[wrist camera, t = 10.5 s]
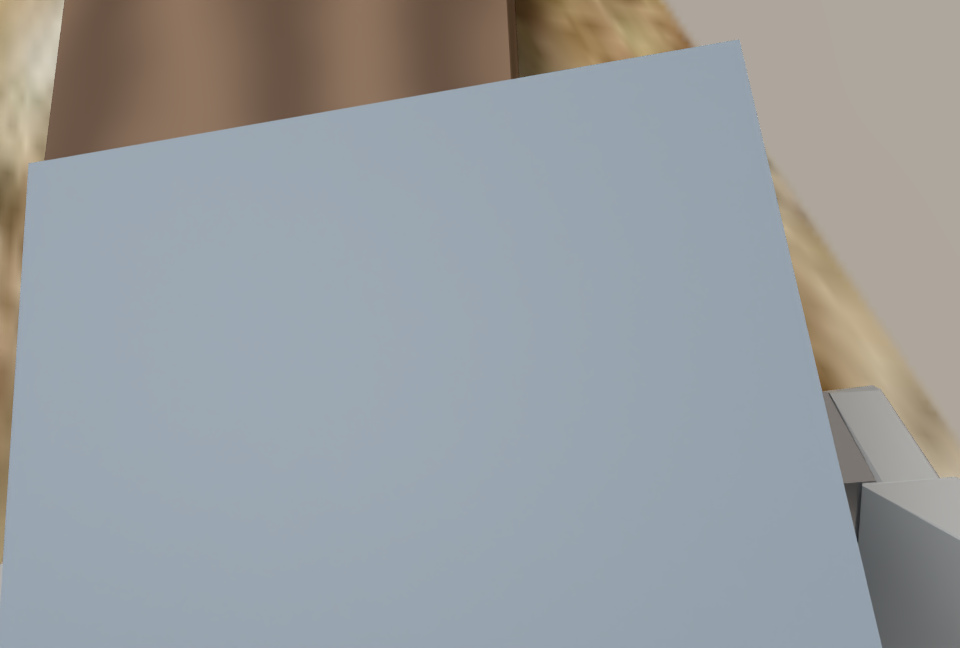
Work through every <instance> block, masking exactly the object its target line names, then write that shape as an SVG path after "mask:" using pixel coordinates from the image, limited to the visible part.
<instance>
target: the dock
mask: <svg viewBox="0 0 960 648" xmlns="http://www.w3.org/2000/svg"><path fill="white" fill-rule="evenodd" d="M516 78H519V65H518V48H517V31H516V14H515V0H65V1H64V9H63V17H62V25H61V32H60V40H59V48H58V56H57V64H56V72H55V80H54V88H53V96H52V104H51V112H50V120H49V128H48V136H47V144H46V152H45V159H44V161H46V160H52V159H58V158H63V157H69V156H75V155H81V154H86V153H92V152H98V151H104V150H109V149H115V148H121V147H126V146H132V145H138V144H144V143H149V142H155V141H161V140H167V139H172V138H178V137H184V136H189V135H195V134H201V133H207V132H212V131H218V130H224V129H229V128H235V127H241V126H247V125H252V124H258V123H264V122H270V121H275V120H281V119H287V118H292V117H298V116H304V115H310V114H315V113H321V112H327V111H333V110H338V109H344V108H350V107H355V106H361V105H367V104H373V103H378V102H384V101H390V100H395V99H401V98H407V97H413V96H418V95H424V94H430V93H436V92H441V91H447V90H453V89H458V88H464V87H470V86H476V85H481V84H487V83H493V82H499V81H504V80H510V79H516Z"/></svg>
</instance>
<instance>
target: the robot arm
mask: <svg viewBox="0 0 960 648" xmlns="http://www.w3.org/2000/svg"><path fill="white" fill-rule="evenodd" d="M822 394H823V398H824V402H825V406H826V411H827V415H828V419H829V423H830V428H831V432H832V436H833V440H834V445H835V449H836V453H837V457H838V462H839V466H840V470H841V474H842V479H843V483H844V487H845V492H846V496H847V500H848V504H849V509H850V513H851V517H852V521H853V526H854V530H855V534H856V538H857V543H858V547H859V551H860V555H861V560H862V564H863V568H864V572H865V577H866V581H867V585H868V589H869V594H870V598H871V602H872V606H873V611H874V615H875V619H876V623H877V628H878V632H879V636H880V640H881V645H882V648H960V479H959V478H957V477H947V478H940V477H939V476H938V474H937V473H936V471H935V470H934V468H933V467H932V465H931V464H930V462H929V461H928V459H927V458H926V456H925V455H924V453H923V452H922V450H921V449H920V447H919V446H918V444H917V443H916V441H915V440H914V438H913V437H912V435H911V434H910V433H909V431H908V430H907V428H906V427H905V425H904V424H903V422H902V421H901V419H900V418H899V416H898V415H897V413H896V412H895V410H894V409H893V407H892V406H891V404H890V403H889V401H888V400H887V398H886V397H885V395H884V394H883V392H882V391H881V389H879V388H877V387H875V386H873V385H872V386H864V387H856V388H847V389H839V390H831V391H824V392H822ZM2 569H3V563H2V564H0V599H1V584H2Z"/></svg>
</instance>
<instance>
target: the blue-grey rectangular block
mask: <svg viewBox="0 0 960 648" xmlns="http://www.w3.org/2000/svg"><path fill="white" fill-rule="evenodd" d="M0 648H882V645H881V640H880V636H879V632H878V628H877V623H876V619H875V615H874V611H873V606H872V602H871V598H870V594H869V589H868V585H867V581H866V577H865V572H864V568H863V564H862V560H861V555H860V551H859V547H858V543H857V538H856V534H855V530H854V526H853V521H852V517H851V513H850V509H849V504H848V500H847V496H846V492H845V487H844V483H843V479H842V474H841V470H840V466H839V462H838V457H837V453H836V449H835V445H834V440H833V436H832V432H831V428H830V423H829V419H828V415H827V411H826V406H825V402H824V398H823V394H822V389H821V385H820V381H819V377H818V372H817V368H816V364H815V360H814V355H813V351H812V347H811V343H810V338H809V334H808V330H807V326H806V321H805V317H804V313H803V309H802V304H801V300H800V296H799V292H798V287H797V283H796V279H795V275H794V270H793V266H792V262H791V258H790V253H789V249H788V245H787V241H786V236H785V232H784V228H783V224H782V219H781V215H780V211H779V207H778V202H777V198H776V194H775V190H774V185H773V181H772V177H771V173H770V168H769V164H768V160H767V156H766V151H765V147H764V143H763V139H762V134H761V130H760V126H759V122H758V117H757V113H756V109H755V105H754V100H753V96H752V92H751V88H750V83H749V79H748V75H747V71H746V67H745V62H744V58H743V54H742V49H741V45H740V41H739V40H734V41H727V42H722V43H716V44H710V45H705V46H699V47H693V48H687V49H682V50H676V51H670V52H665V53H659V54H653V55H647V56H642V57H636V58H630V59H624V60H619V61H613V62H607V63H602V64H596V65H590V66H584V67H579V68H573V69H567V70H561V71H556V72H550V73H544V74H539V75H533V76H527V77H521V78H516V79H510V80H504V81H499V82H493V83H487V84H481V85H476V86H470V87H464V88H458V89H453V90H447V91H441V92H436V93H430V94H424V95H418V96H413V97H407V98H401V99H395V100H390V101H384V102H378V103H373V104H367V105H361V106H355V107H350V108H344V109H338V110H333V111H327V112H321V113H315V114H310V115H304V116H298V117H292V118H287V119H281V120H275V121H270V122H264V123H258V124H252V125H247V126H241V127H235V128H229V129H224V130H218V131H212V132H207V133H201V134H195V135H189V136H184V137H178V138H172V139H167V140H161V141H155V142H149V143H144V144H138V145H132V146H126V147H121V148H115V149H109V150H104V151H98V152H92V153H86V154H81V155H75V156H69V157H63V158H58V159H52V160H46V161H41V162H35V163H29V167H28V183H27V198H26V214H25V229H24V245H23V260H22V275H21V291H20V306H19V322H18V337H17V353H16V368H15V383H14V399H13V414H12V430H11V445H10V461H9V476H8V491H7V507H6V522H5V538H4V553H3V569H2V584H1V599H0Z"/></svg>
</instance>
